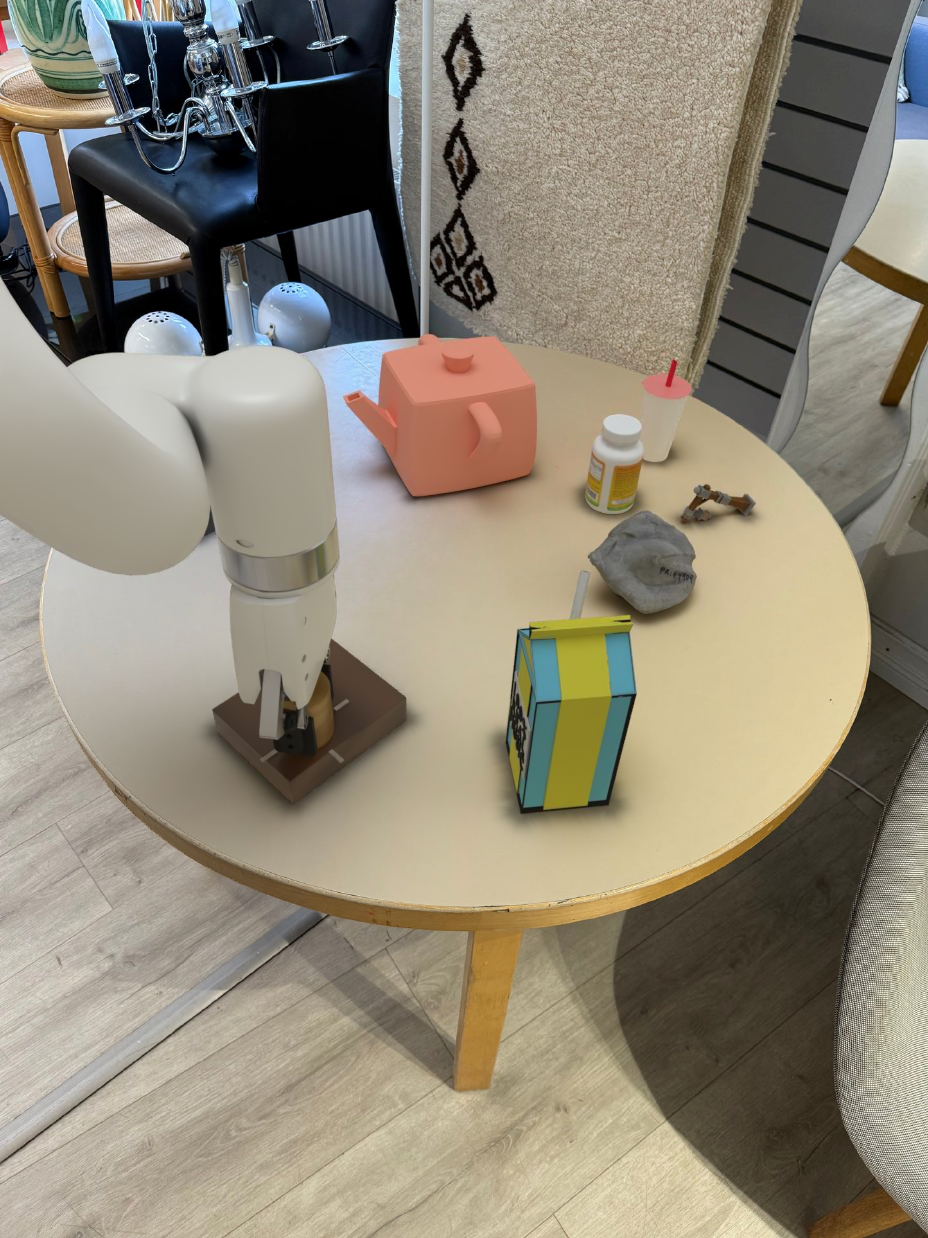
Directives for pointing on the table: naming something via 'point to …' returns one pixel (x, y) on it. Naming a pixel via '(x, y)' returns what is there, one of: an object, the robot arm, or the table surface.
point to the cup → (662, 412)
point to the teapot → (453, 414)
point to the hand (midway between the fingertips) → (305, 722)
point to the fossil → (647, 562)
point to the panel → (359, 723)
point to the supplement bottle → (615, 465)
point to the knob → (319, 710)
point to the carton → (570, 708)
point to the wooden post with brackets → (704, 492)
